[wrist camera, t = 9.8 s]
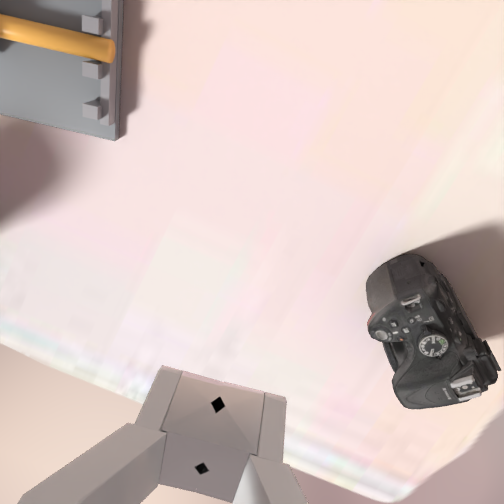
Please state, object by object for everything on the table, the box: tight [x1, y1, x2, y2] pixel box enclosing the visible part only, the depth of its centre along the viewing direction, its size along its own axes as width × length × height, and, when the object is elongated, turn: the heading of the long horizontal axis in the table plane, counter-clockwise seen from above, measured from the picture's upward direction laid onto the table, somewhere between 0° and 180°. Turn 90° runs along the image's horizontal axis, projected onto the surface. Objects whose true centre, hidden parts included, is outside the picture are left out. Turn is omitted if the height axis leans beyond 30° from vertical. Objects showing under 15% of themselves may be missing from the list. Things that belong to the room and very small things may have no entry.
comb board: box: [0, 0, 124, 141], centre depth 30 cm, size 14×17×4 cm
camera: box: [366, 254, 501, 409], centre depth 35 cm, size 13×10×10 cm
